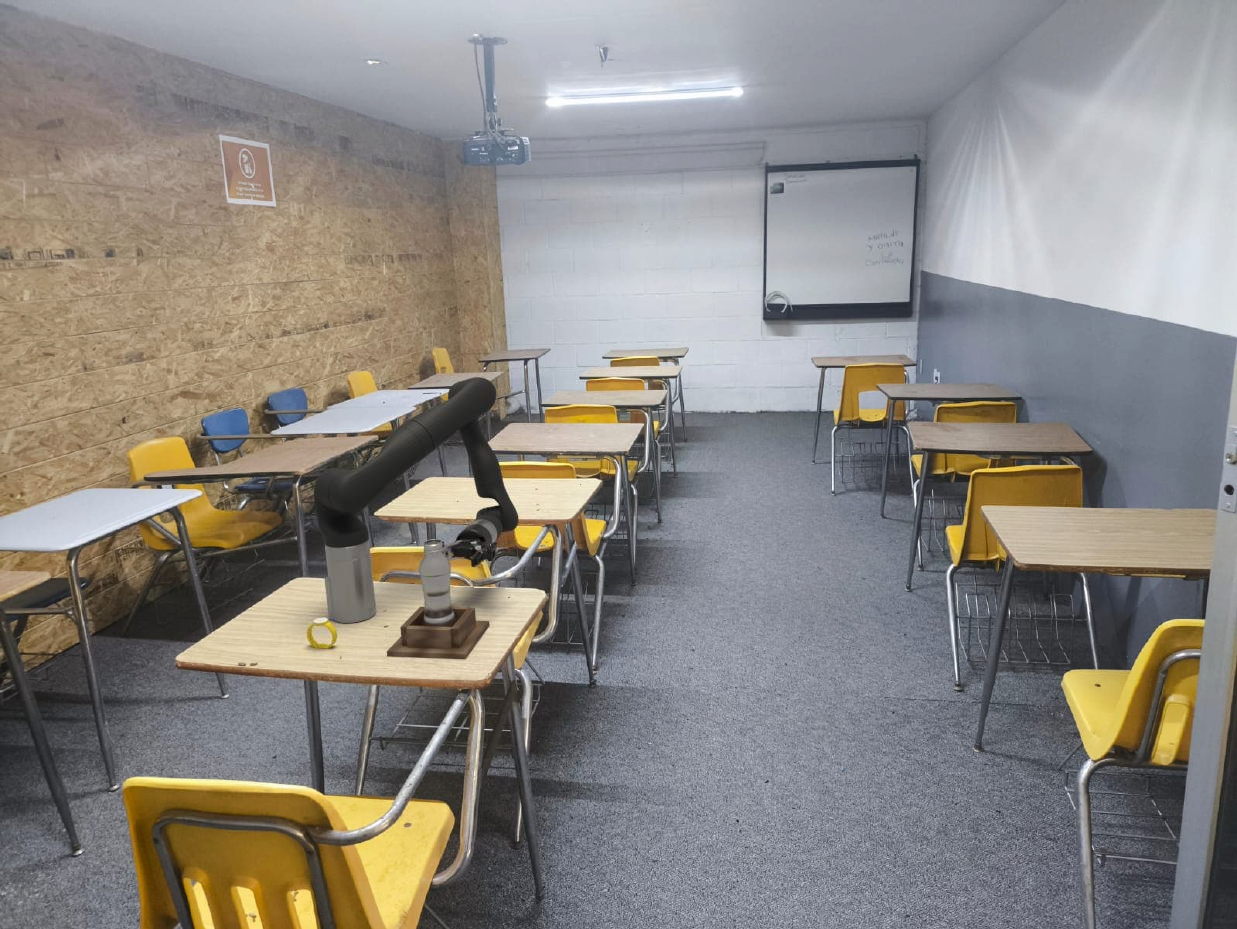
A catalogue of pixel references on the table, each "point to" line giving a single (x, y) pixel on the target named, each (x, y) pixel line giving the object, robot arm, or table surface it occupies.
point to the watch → (320, 623)
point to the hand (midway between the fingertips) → (453, 562)
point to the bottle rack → (439, 636)
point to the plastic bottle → (436, 585)
